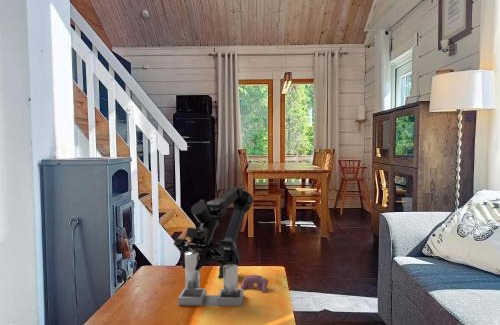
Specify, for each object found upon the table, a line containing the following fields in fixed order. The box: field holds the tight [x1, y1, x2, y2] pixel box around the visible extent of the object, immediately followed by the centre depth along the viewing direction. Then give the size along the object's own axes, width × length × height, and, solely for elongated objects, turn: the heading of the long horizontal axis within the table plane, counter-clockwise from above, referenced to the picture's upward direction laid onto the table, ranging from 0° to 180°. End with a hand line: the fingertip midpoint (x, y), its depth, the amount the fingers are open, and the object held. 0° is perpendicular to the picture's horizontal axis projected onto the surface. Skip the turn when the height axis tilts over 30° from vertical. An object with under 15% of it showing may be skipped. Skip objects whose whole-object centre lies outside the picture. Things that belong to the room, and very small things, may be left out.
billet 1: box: [184, 249, 201, 289], centre depth 125 cm, size 5×5×12 cm
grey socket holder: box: [177, 287, 245, 307], centre depth 125 cm, size 22×9×4 cm, turn 87°
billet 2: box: [222, 264, 239, 297], centre depth 124 cm, size 5×5×12 cm
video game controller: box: [240, 274, 269, 294], centre depth 135 cm, size 10×5×7 cm, turn 71°
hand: (190, 269), depth 124 cm, fingers closed on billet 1, 5 cm apart
